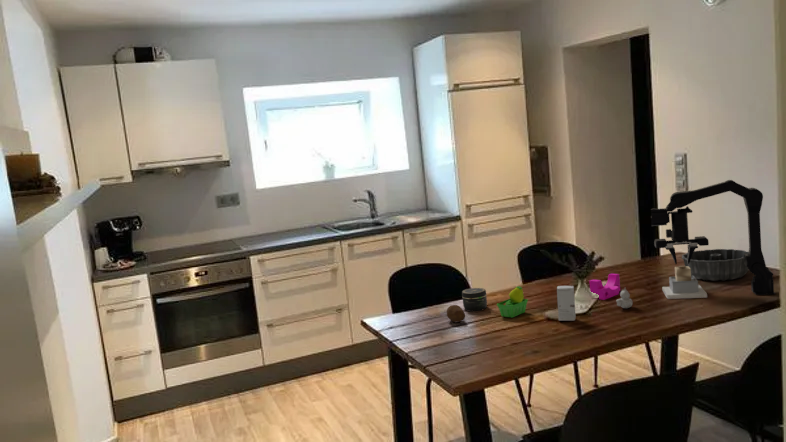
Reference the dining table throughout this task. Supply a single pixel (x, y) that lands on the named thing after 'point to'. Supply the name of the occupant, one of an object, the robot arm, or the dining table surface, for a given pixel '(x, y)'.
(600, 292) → the toy block
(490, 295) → the dining table surface
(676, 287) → the grey square base plate
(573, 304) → the skincare box
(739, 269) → the bundt pan
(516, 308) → the fruit basket
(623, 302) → the rubber duck
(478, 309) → the jar
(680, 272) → the snap block
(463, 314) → the potato
